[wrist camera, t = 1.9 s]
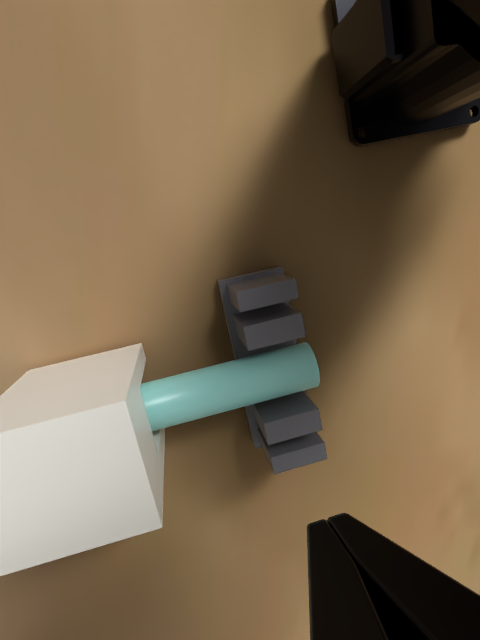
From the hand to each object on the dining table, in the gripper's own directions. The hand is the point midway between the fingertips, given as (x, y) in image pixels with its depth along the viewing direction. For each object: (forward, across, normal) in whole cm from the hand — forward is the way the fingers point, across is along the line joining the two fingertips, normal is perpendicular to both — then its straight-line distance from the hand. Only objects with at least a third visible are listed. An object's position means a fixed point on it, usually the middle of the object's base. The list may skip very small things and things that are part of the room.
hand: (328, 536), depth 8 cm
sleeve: (+12, +6, 0) cm, 13 cm away
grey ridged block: (+12, -2, 0) cm, 12 cm away
